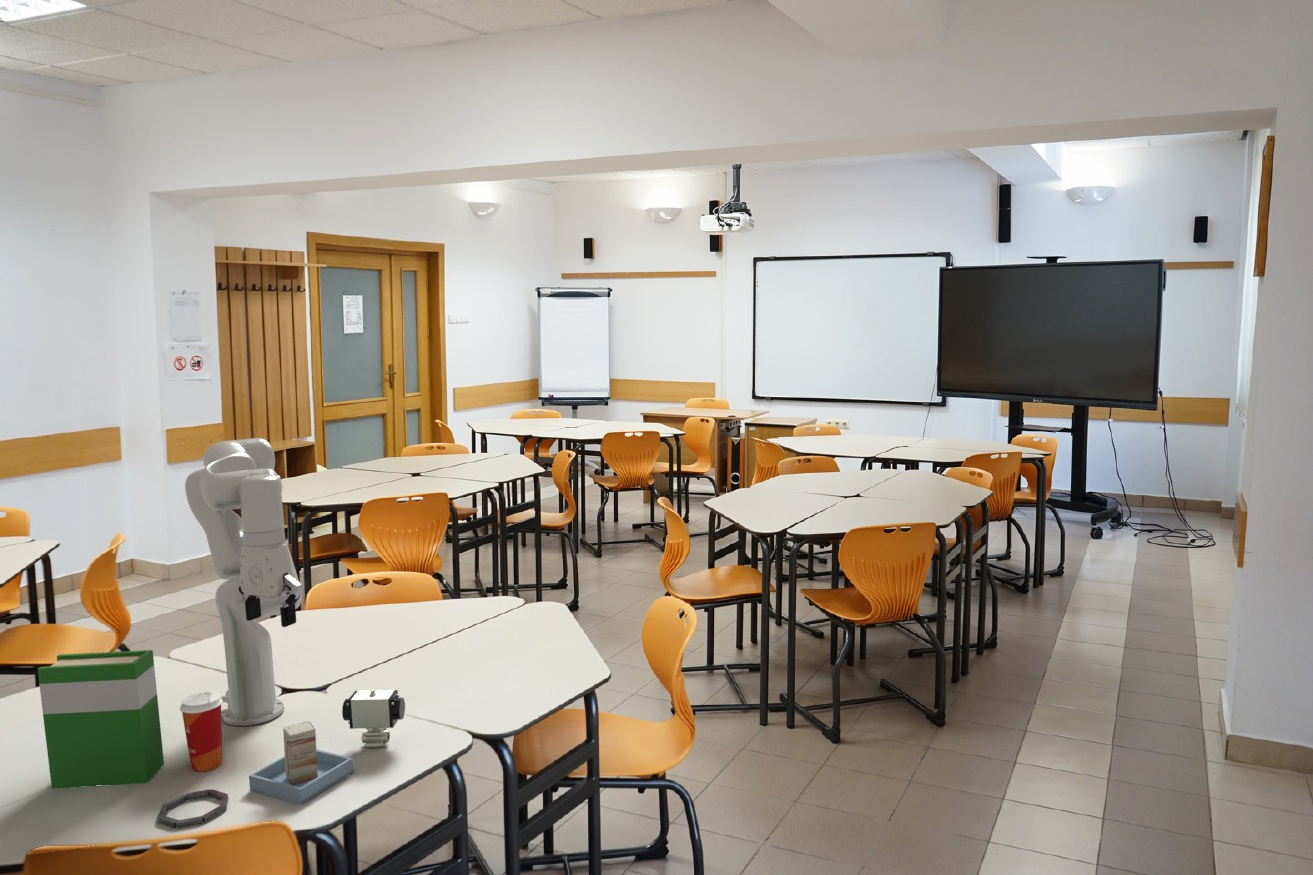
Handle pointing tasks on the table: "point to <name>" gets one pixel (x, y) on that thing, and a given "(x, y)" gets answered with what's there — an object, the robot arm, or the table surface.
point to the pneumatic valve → (374, 714)
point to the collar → (195, 820)
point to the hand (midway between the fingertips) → (271, 621)
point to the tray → (278, 786)
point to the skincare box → (300, 752)
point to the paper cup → (203, 730)
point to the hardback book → (101, 719)
